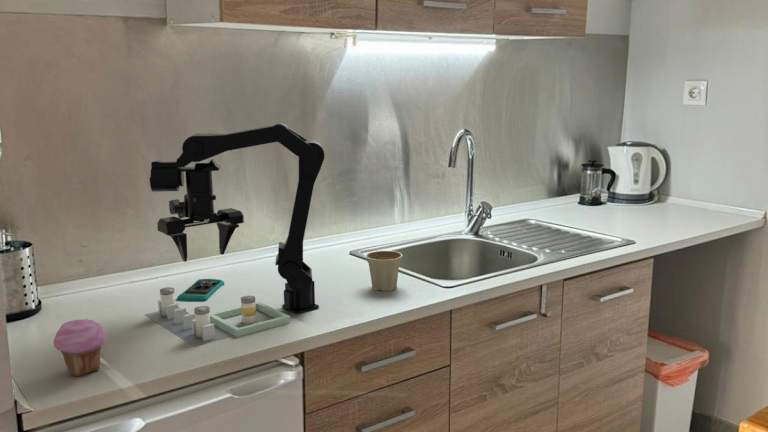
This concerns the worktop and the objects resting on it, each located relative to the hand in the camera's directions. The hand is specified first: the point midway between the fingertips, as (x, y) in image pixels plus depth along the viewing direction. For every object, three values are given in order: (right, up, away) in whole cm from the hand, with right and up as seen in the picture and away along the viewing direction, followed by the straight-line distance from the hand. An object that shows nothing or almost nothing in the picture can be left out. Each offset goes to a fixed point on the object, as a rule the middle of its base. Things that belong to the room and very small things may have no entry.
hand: (203, 257), depth 166 cm
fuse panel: (-2, -15, -9) cm, 18 cm away
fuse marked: (+12, -14, -7) cm, 20 cm away
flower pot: (+41, -9, +20) cm, 47 cm away
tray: (+12, -15, -7) cm, 20 cm away
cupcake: (-15, -20, -29) cm, 39 cm away
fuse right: (+4, -15, -16) cm, 22 cm away
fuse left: (-7, -13, -3) cm, 15 cm away
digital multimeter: (-4, -11, +14) cm, 18 cm away
